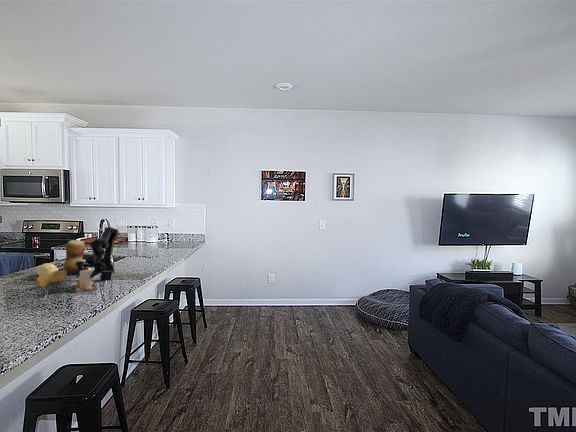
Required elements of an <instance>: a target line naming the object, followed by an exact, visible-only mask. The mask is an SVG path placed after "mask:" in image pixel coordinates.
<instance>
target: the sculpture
mask: <svg viewBox="0 0 576 432" xmlns="http://www.w3.org/2000/svg"><path fill="white" fill-rule="evenodd" d="M54 271H59V269H58V267H57V266H56V265H55V264H54V263H48V262H47V263H46V262H45V263H43V264H41V265H38V266H36V273H37V275H38V278H39V277H48V276H50V275H51V274H52V273H53V272H54Z"/></svg>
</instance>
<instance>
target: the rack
mask: <svg viewBox="0 0 576 432" xmlns="http://www.w3.org/2000/svg"><path fill="white" fill-rule="evenodd" d="M91 282H93V283H92V284H91V288H85V289H80V281H76V282H75V287H74V293H75V294H74V295H75V296H82V295H83V294H84V293H85V295H91V294H94V293H95V292H96V291H97V287H96V280H91Z"/></svg>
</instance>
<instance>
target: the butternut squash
mask: <svg viewBox="0 0 576 432" xmlns="http://www.w3.org/2000/svg"><path fill="white" fill-rule="evenodd" d="M85 248H86V247H85V242H84V241H82V240H78V239H73V240H69V241H68V242H67V244H66V248H65V255H66V257H65V258H66V259H65V261H64V264H63V267H64V268H63V269H64V271H66V272H67V273H68V274H70V275H74V274H76V275H77V272H78V267H77V266H76V265H75V263H76V262H77V261H83V262H84V263H85V264H86V262H85V260H83V259H82V258H83V255H84V254H85V251H86V250H85Z"/></svg>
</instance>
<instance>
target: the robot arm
mask: <svg viewBox="0 0 576 432" xmlns="http://www.w3.org/2000/svg"><path fill="white" fill-rule="evenodd" d="M119 234H120V231H119V230H118V229H117V228H114V227H112V226H111V227H110V226H109V227H107V226H106V227H104V230H103V232H102V234H101V236H100V237H98V238H97V239H94V240H93V241H91V242H90V248H91V251H92V253H91V254H86V253H84V255H83V258H82V259H83V260H84V262H85V263H84V262H83V261H77V262H76V263H75V265H76V266H77V267H78V272H77V273H76V277H77V278H80V271H81V270H85V269H86V270H87V269H88V268H93V271H91V276H90V278H91V279H93V278H94V277H96V276H97V275H99V274H100V276H99V277H100V278H99V280H100V281H101V282H107V281H112V278H113V277H112V274H114V273H115V267H114V265H113V262H112V255H113V249H114V244H115V241H116V240H117V239H118V236H119Z"/></svg>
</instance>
